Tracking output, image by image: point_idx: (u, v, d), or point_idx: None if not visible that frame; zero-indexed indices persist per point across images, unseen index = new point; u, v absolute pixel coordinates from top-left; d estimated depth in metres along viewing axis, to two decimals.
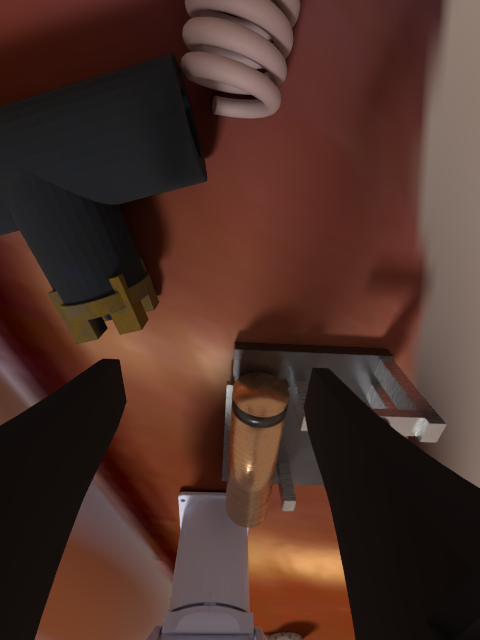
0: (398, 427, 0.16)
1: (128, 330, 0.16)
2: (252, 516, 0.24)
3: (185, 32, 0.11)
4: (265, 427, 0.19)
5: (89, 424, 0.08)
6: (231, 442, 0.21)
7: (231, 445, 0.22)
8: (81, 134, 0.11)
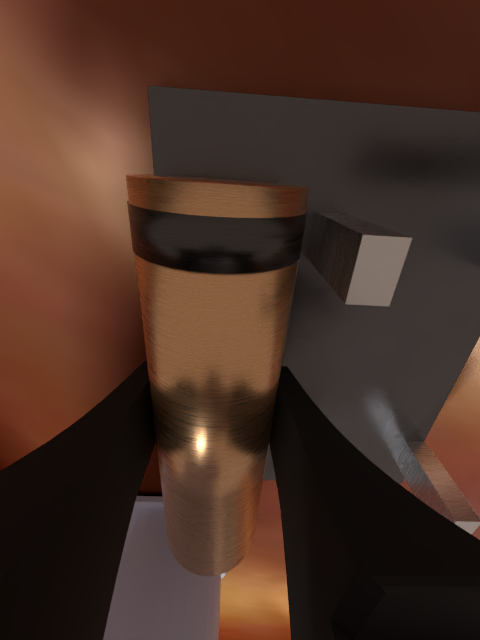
0: None
1: None
2: (218, 555, 0.10)
3: None
4: (228, 272, 0.05)
5: (141, 426, 0.08)
6: (147, 363, 0.08)
7: (148, 372, 0.08)
8: None
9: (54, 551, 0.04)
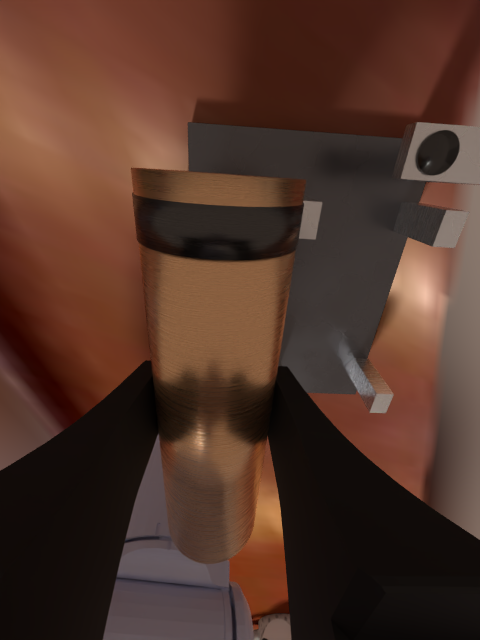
0: (473, 158, 0.09)
1: None
2: (216, 542, 0.11)
3: None
4: (225, 258, 0.06)
5: (141, 426, 0.08)
6: (150, 350, 0.08)
7: (151, 359, 0.08)
8: None
9: (54, 551, 0.04)
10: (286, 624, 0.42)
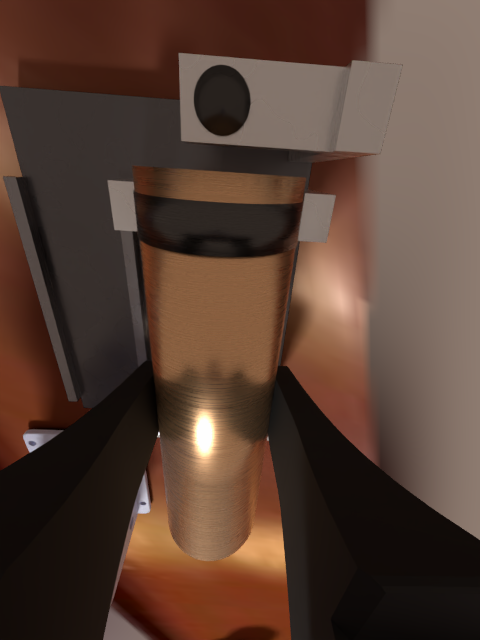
0: (277, 110, 0.06)
1: None
2: (220, 538, 0.11)
3: None
4: (230, 255, 0.06)
5: (141, 426, 0.08)
6: (151, 349, 0.08)
7: (152, 358, 0.08)
8: None
9: (54, 551, 0.04)
10: None
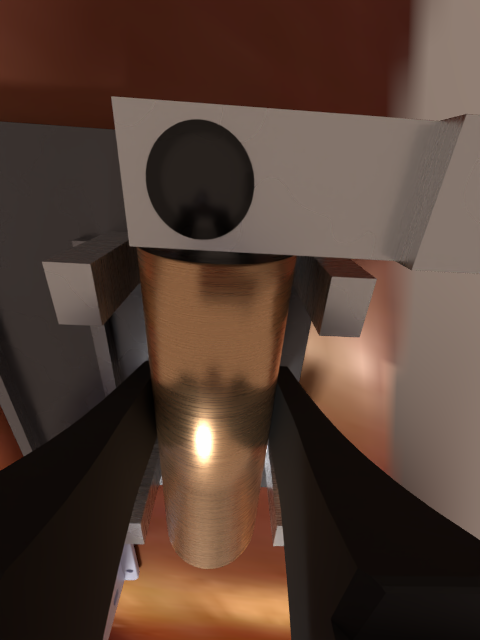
0: (304, 196, 0.03)
1: None
2: (219, 546, 0.11)
3: None
4: (231, 262, 0.05)
5: (141, 426, 0.08)
6: None
7: (150, 366, 0.08)
8: None
9: (54, 551, 0.04)
10: None
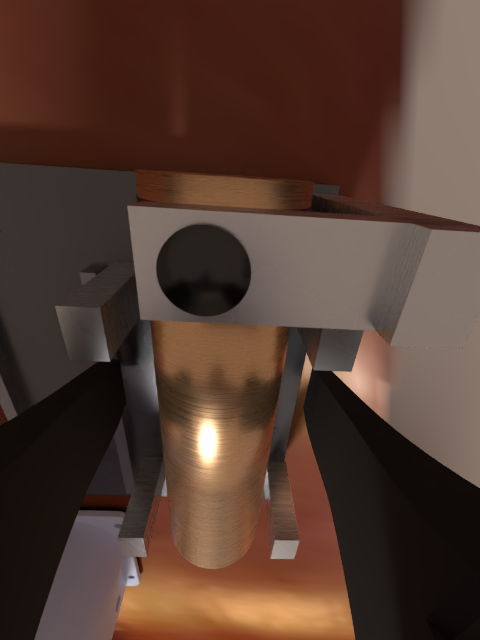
0: (295, 280, 0.04)
1: None
2: (227, 545, 0.11)
3: None
4: None
5: (89, 424, 0.08)
6: (155, 360, 0.08)
7: (156, 369, 0.08)
8: None
9: None
10: None
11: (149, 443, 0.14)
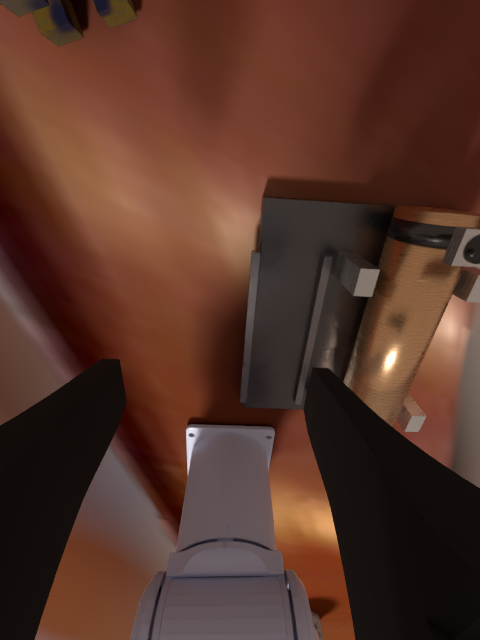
0: None
1: None
2: (393, 414, 0.19)
3: None
4: None
5: (89, 424, 0.08)
6: (387, 300, 0.16)
7: (386, 305, 0.16)
8: None
9: None
10: None
11: None
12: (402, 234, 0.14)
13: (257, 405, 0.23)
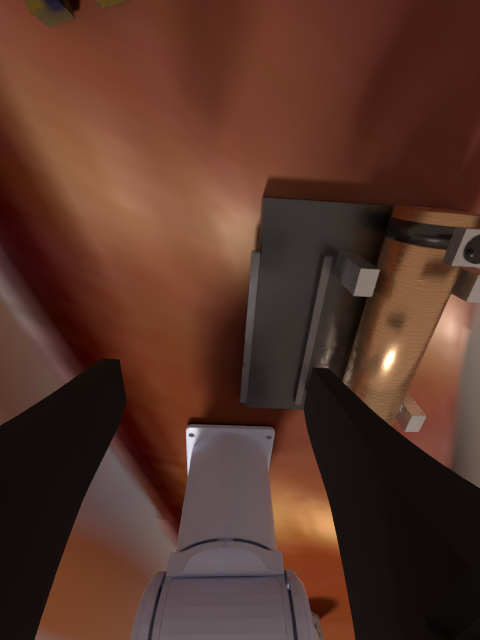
0: None
1: None
2: (391, 414, 0.18)
3: None
4: None
5: (89, 424, 0.08)
6: (385, 299, 0.16)
7: (384, 304, 0.16)
8: None
9: None
10: None
11: None
12: (399, 234, 0.14)
13: (257, 405, 0.23)
